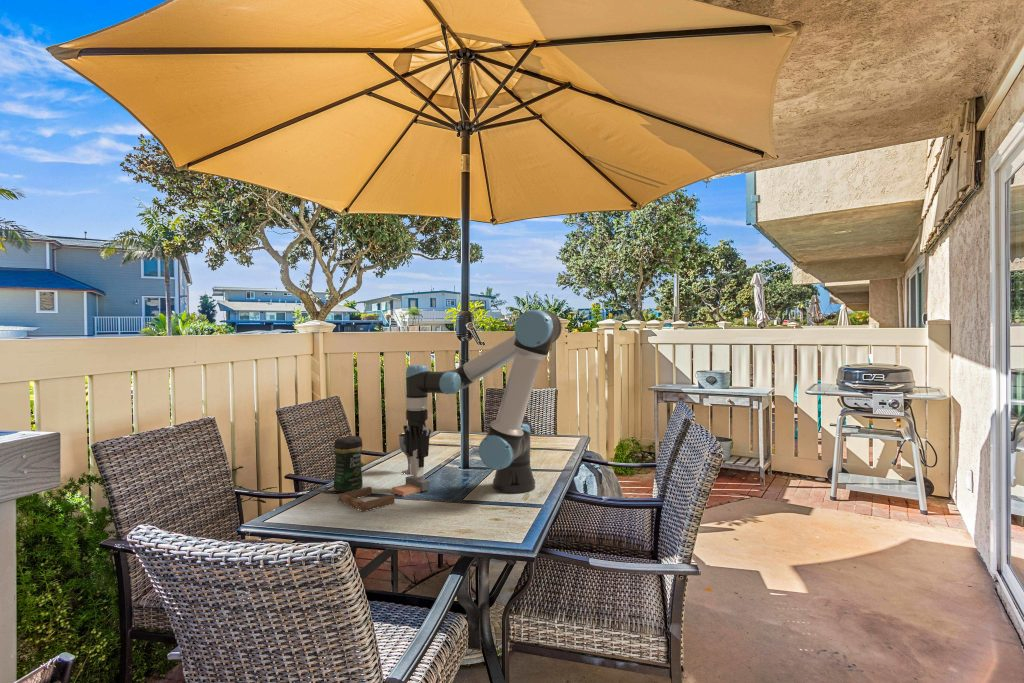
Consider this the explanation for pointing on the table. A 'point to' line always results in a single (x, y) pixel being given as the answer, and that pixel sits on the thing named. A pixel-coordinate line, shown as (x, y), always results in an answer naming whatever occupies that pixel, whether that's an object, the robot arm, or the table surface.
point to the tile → (405, 489)
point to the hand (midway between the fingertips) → (416, 475)
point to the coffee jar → (348, 464)
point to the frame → (352, 500)
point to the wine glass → (404, 451)
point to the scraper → (417, 480)
